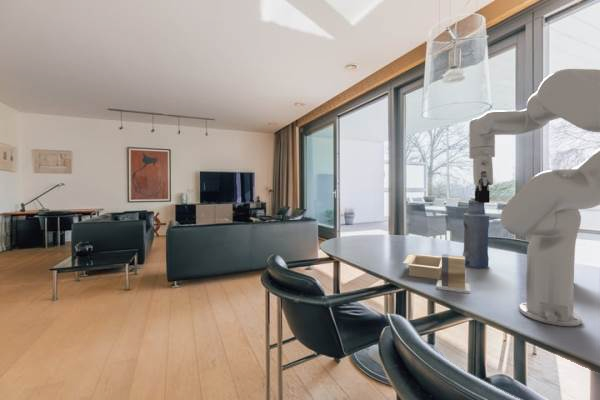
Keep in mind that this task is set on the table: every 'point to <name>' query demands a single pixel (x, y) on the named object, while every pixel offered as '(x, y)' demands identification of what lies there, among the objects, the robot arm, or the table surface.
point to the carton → (424, 266)
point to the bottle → (476, 235)
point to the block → (453, 271)
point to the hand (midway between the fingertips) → (481, 201)
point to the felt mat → (466, 290)
